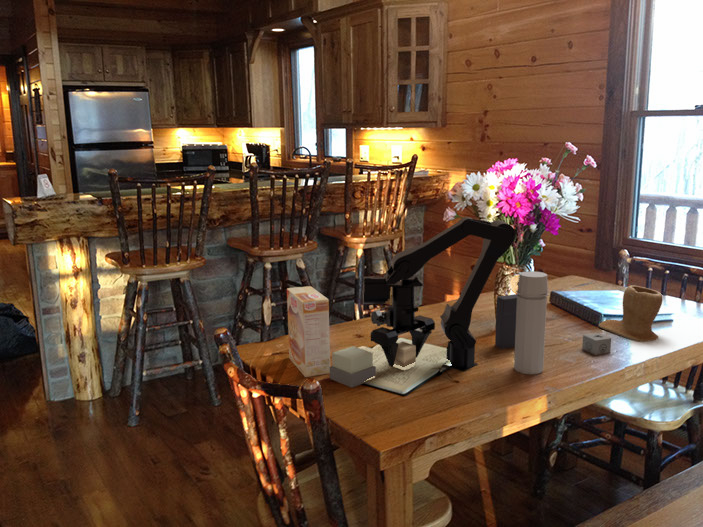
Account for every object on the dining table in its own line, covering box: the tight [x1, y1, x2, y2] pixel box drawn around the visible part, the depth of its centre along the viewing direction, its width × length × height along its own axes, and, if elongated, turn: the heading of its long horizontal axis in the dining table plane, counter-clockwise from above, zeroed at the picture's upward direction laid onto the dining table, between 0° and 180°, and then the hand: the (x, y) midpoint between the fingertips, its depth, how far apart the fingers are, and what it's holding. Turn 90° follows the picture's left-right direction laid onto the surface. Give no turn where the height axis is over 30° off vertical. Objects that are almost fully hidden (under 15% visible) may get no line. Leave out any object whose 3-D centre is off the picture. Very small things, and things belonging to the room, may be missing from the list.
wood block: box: [394, 341, 417, 367], centre depth 164 cm, size 4×4×6 cm
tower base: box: [329, 365, 377, 388], centre depth 158 cm, size 8×8×4 cm
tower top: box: [331, 345, 374, 374], centre depth 157 cm, size 7×7×4 cm
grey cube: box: [581, 332, 612, 356], centre depth 172 cm, size 5×5×5 cm
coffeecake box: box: [286, 285, 331, 378], centre depth 165 cm, size 15×7×20 cm, turn 21°
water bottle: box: [513, 270, 550, 375], centre depth 159 cm, size 9×8×25 cm
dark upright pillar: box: [494, 293, 518, 350], centre depth 177 cm, size 11×4×15 cm, turn 110°
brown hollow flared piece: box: [598, 285, 664, 343], centre depth 185 cm, size 15×12×15 cm
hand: (403, 361), depth 164 cm, fingers open, 9 cm apart
